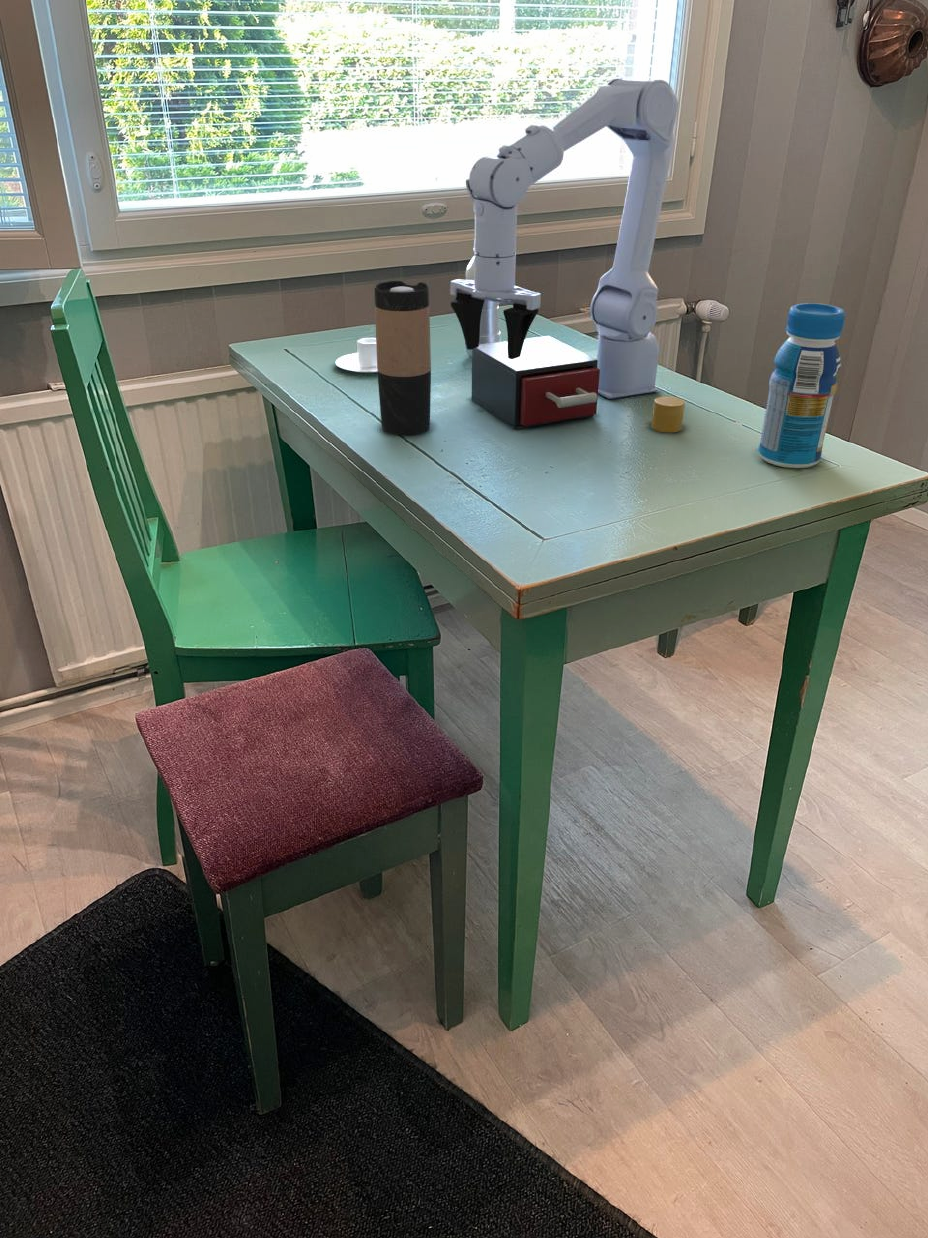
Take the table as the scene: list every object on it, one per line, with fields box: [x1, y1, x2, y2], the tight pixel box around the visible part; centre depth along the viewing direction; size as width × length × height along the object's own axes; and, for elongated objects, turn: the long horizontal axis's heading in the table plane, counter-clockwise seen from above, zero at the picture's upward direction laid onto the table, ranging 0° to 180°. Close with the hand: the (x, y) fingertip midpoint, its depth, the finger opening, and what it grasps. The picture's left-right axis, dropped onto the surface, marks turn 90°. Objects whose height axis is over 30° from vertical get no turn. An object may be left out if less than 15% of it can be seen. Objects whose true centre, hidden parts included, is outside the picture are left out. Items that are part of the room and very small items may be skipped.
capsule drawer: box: [519, 367, 600, 426], centre depth 140 cm, size 18×12×7 cm
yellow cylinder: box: [651, 395, 686, 434], centre depth 137 cm, size 4×4×4 cm
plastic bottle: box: [464, 239, 502, 359], centre depth 163 cm, size 6×7×20 cm
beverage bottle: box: [758, 302, 846, 469], centre depth 123 cm, size 8×8×20 cm
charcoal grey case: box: [471, 335, 598, 430], centre depth 143 cm, size 15×14×9 cm
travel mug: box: [373, 280, 432, 437], centre depth 133 cm, size 8×8×20 cm
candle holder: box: [335, 337, 378, 374], centre depth 163 cm, size 12×12×4 cm
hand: (493, 352), depth 136 cm, fingers open, 7 cm apart
